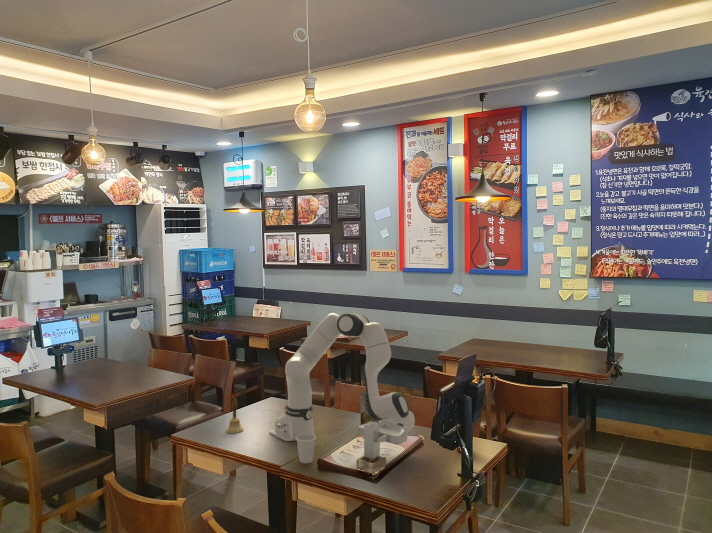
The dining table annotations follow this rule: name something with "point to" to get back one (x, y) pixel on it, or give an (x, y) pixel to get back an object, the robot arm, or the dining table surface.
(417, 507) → the dining table surface
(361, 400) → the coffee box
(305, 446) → the dixie cup
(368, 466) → the box
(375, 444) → the peg
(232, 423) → the hand bell
